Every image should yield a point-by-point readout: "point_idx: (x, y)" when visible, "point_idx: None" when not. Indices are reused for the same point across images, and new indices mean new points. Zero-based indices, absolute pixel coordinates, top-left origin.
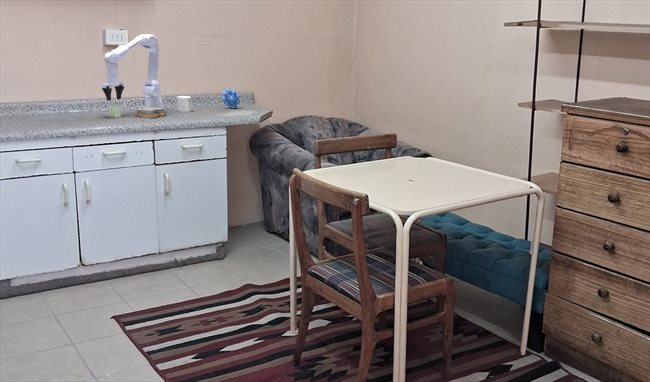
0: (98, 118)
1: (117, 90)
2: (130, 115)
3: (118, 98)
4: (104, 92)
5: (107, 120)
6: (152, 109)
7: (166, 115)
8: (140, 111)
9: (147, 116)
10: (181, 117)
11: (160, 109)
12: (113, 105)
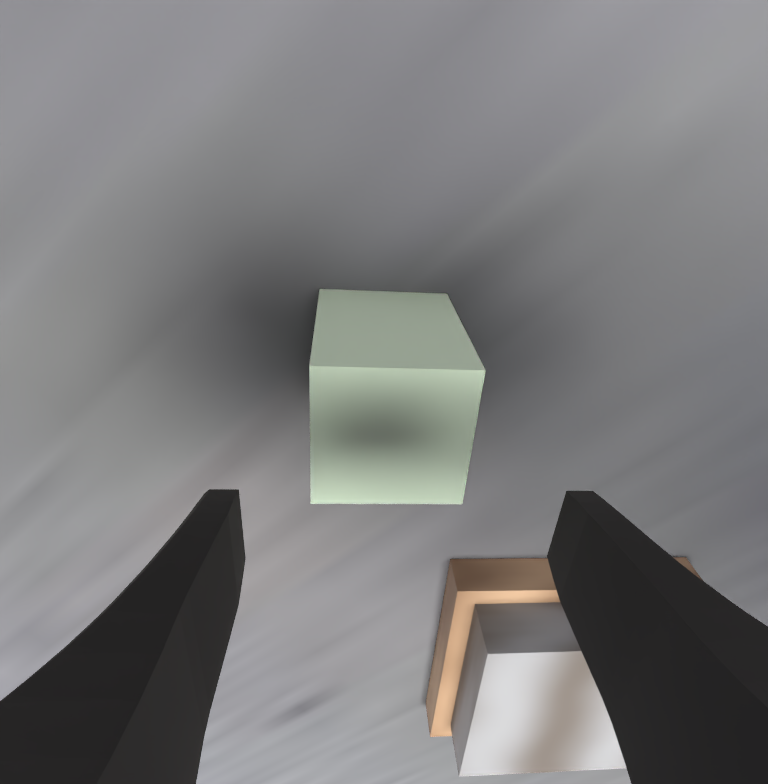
0: (83, 280)
1: (698, 738)
2: (562, 440)
3: (563, 541)
4: (35, 687)
5: (61, 494)
6: (537, 748)
7: None
8: (474, 664)
9: (433, 689)
10: (596, 775)
11: (599, 763)
12: (429, 396)
